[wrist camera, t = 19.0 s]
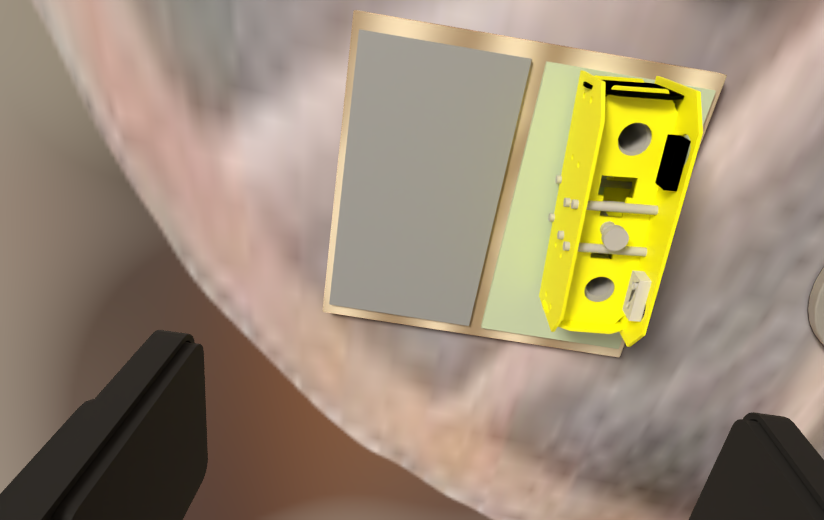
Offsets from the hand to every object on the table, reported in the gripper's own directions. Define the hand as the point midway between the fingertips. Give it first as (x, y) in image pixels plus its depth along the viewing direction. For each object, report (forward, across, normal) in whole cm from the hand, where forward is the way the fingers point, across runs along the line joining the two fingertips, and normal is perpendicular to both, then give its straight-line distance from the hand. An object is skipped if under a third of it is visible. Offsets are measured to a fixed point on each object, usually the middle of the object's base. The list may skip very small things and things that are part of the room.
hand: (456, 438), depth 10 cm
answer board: (+32, -4, +6) cm, 33 cm away
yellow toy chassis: (+31, -10, +4) cm, 33 cm away
